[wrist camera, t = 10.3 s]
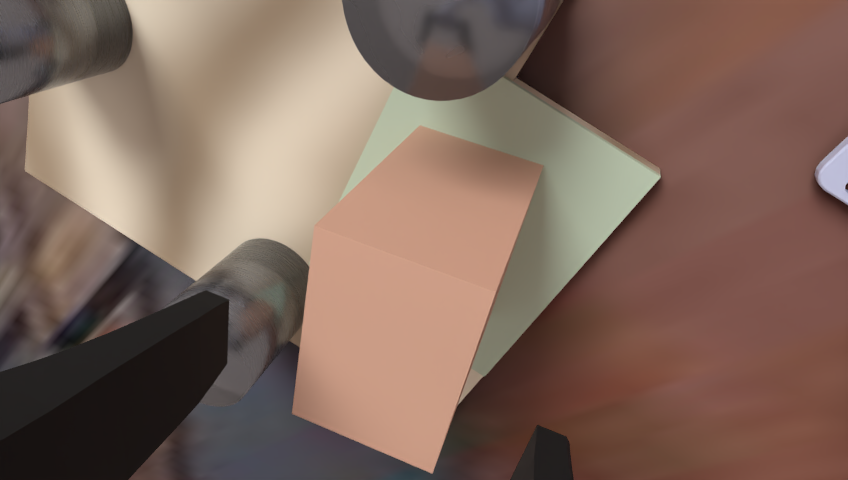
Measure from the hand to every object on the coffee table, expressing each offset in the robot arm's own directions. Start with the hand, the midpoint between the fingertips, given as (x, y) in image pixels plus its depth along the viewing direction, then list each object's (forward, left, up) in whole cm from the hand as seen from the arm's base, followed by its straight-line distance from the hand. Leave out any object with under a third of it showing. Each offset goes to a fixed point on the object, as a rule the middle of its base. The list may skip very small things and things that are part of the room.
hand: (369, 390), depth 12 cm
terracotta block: (0, 0, -8) cm, 8 cm away
